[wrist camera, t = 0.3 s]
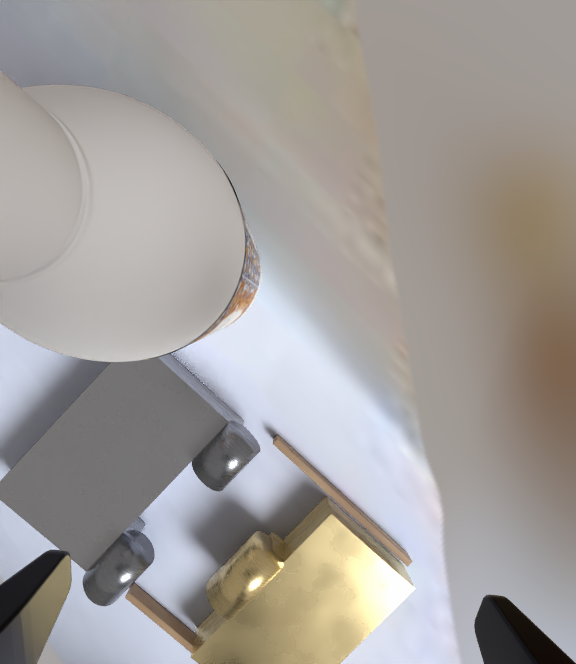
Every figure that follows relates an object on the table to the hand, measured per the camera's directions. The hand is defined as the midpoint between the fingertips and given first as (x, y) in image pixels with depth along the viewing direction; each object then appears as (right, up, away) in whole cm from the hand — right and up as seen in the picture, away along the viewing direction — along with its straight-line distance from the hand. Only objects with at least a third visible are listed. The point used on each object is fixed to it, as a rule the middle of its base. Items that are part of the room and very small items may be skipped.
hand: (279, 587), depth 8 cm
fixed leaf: (-9, -2, +15) cm, 18 cm away
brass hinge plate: (0, -11, +16) cm, 19 cm away
